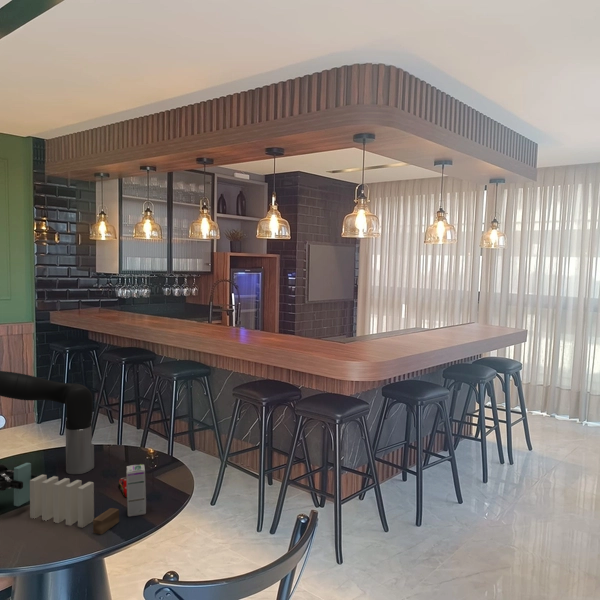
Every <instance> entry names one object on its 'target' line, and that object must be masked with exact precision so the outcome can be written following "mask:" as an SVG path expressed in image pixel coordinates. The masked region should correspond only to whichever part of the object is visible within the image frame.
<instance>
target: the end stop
mask: <svg viewBox="0 0 600 600" xmlns="http://www.w3.org/2000/svg"><path fill="white" fill-rule="evenodd" d="M118 523H120V509H119V508H115V507H110V508H108V509H106V511H104V512H103V513H100V514H99V515H97V516H96V517H94V519H93V521H92V529H93V530H92V531H93V532H92V533H93V534H98V535H103V534H105V533H106V532H107V531H108V530H110V529H111V528H113V527H114V526H116V525H117V524H118Z"/></svg>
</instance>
